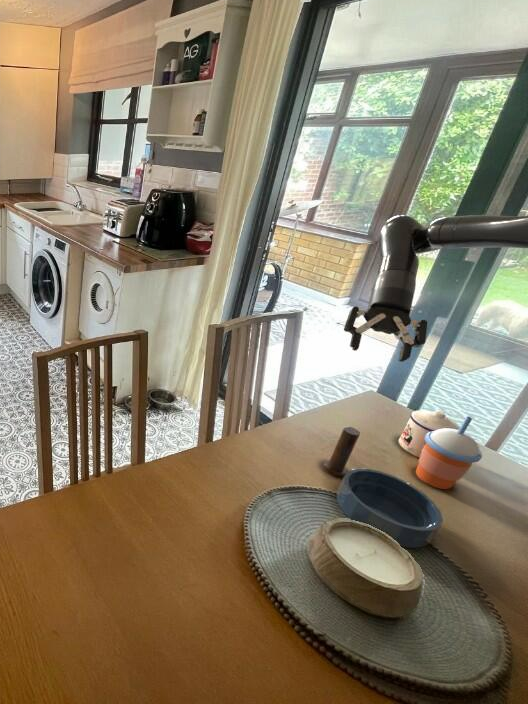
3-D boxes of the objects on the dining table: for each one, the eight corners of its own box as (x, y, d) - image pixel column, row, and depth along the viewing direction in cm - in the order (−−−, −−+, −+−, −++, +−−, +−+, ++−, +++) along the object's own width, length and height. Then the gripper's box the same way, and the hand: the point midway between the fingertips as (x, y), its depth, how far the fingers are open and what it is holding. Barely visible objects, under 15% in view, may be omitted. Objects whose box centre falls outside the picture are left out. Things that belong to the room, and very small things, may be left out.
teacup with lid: (397, 432, 111) (415, 397, 106) (443, 448, 105) (464, 411, 100) (396, 456, 102) (416, 419, 97) (446, 475, 97) (470, 436, 92)
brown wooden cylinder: (345, 468, 99) (363, 429, 94) (345, 479, 96) (364, 440, 91) (323, 460, 101) (340, 422, 96) (323, 471, 98) (340, 432, 93)
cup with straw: (409, 459, 102) (441, 399, 94) (460, 479, 96) (499, 418, 88) (405, 478, 96) (439, 417, 88) (459, 501, 90) (501, 438, 82)
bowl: (423, 508, 89) (434, 489, 86) (437, 564, 77) (450, 545, 75) (335, 476, 97) (343, 458, 94) (335, 523, 85) (345, 504, 83)
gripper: (360, 280, 98) (345, 341, 95) (440, 293, 91) (426, 359, 88) (350, 293, 104) (335, 350, 101) (423, 306, 97) (410, 368, 94)
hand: (378, 354), depth 94 cm, fingers open, 8 cm apart
